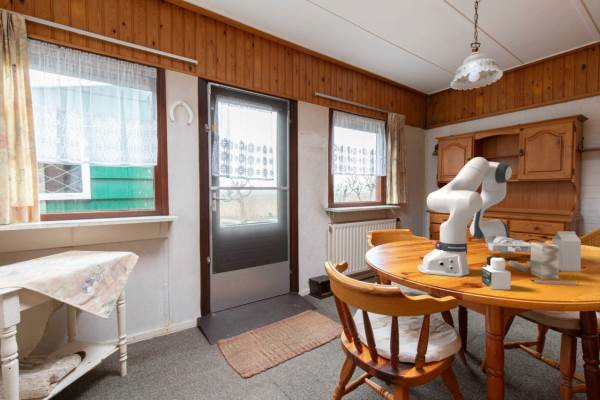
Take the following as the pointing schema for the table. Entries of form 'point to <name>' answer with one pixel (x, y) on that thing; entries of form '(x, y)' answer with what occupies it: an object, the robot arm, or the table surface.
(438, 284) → the table surface
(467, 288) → the table surface
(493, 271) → the medicine bottle
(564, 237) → the milk carton
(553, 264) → the block
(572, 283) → the chute
